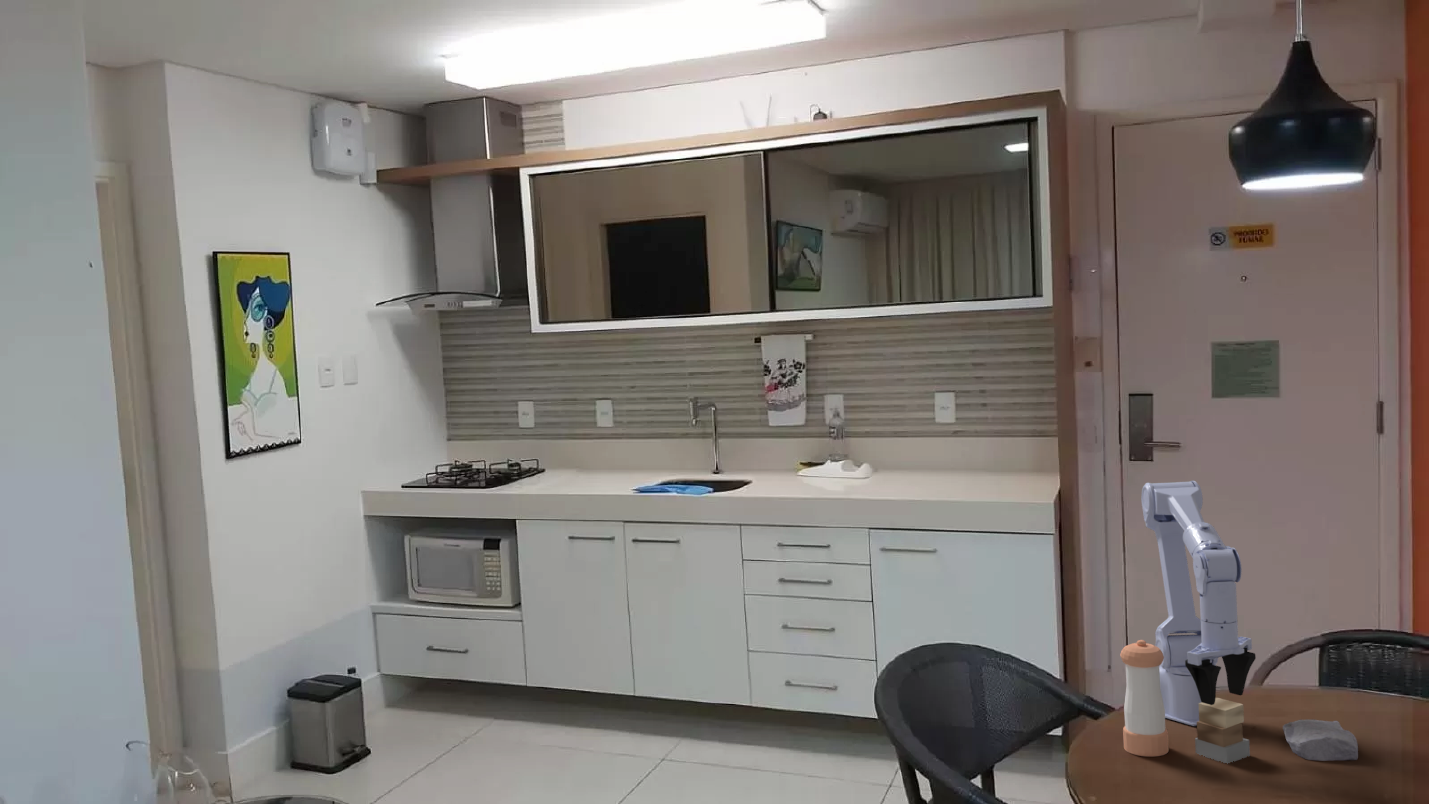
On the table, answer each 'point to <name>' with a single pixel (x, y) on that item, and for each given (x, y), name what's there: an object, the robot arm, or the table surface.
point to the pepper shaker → (1144, 701)
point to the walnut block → (1219, 734)
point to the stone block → (1321, 740)
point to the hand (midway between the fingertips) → (1222, 698)
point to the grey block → (1223, 750)
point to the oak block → (1221, 713)
